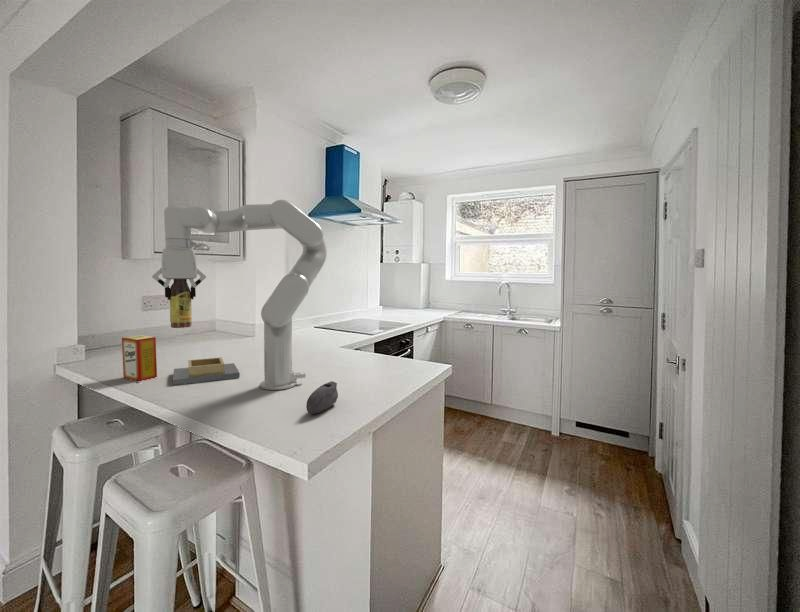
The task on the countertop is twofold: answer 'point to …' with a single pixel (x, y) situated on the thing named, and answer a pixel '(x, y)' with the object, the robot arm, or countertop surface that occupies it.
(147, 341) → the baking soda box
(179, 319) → the sauce bottle
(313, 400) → the perforated stone tool
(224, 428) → the countertop surface
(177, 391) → the countertop surface
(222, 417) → the countertop surface
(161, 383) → the countertop surface
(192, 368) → the wooden tray on slab
